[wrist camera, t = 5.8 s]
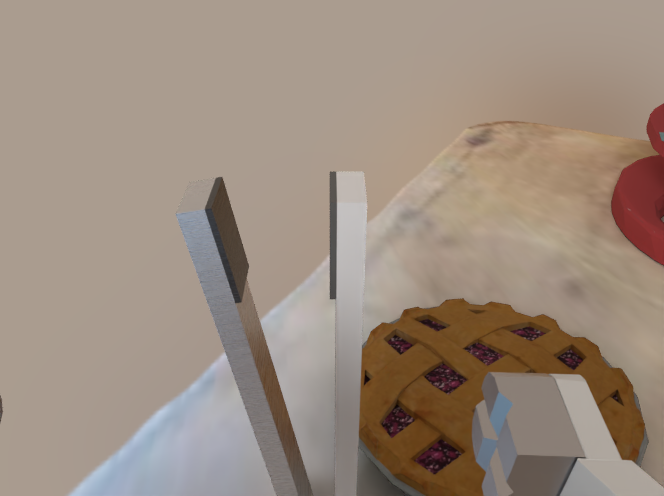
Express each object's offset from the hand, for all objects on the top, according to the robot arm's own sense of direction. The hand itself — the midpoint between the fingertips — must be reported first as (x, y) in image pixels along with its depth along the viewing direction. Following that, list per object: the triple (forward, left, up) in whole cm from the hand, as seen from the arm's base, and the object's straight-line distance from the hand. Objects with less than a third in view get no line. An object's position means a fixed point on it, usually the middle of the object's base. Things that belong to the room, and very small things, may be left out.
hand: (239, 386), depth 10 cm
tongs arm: (+8, -9, -24) cm, 27 cm away
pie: (+8, -27, -30) cm, 41 cm away
